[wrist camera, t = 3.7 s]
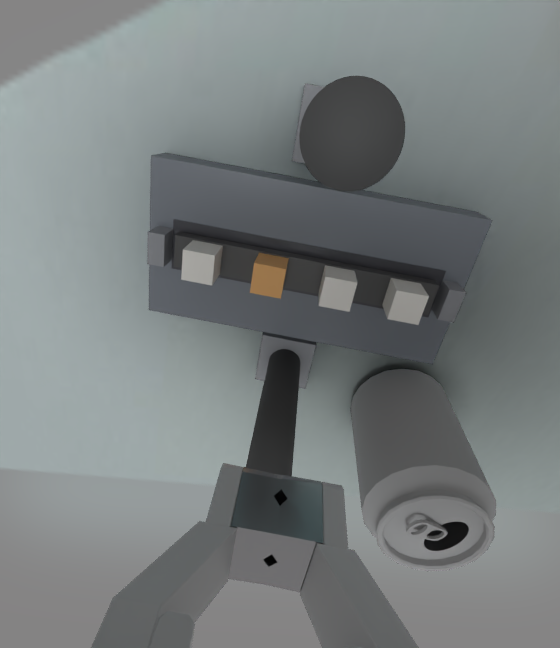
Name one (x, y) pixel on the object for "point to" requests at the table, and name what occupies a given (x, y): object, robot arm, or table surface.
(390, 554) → the can
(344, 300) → the breaker paddles
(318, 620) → the robot arm
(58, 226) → the table surface
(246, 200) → the breaker panel
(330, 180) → the disc
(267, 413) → the post
